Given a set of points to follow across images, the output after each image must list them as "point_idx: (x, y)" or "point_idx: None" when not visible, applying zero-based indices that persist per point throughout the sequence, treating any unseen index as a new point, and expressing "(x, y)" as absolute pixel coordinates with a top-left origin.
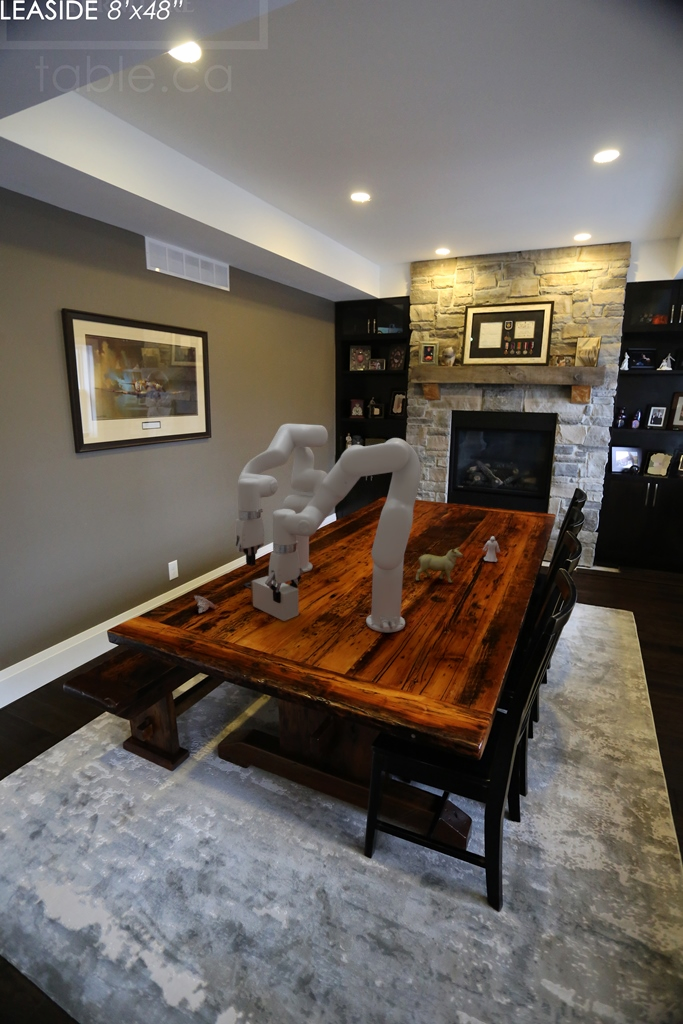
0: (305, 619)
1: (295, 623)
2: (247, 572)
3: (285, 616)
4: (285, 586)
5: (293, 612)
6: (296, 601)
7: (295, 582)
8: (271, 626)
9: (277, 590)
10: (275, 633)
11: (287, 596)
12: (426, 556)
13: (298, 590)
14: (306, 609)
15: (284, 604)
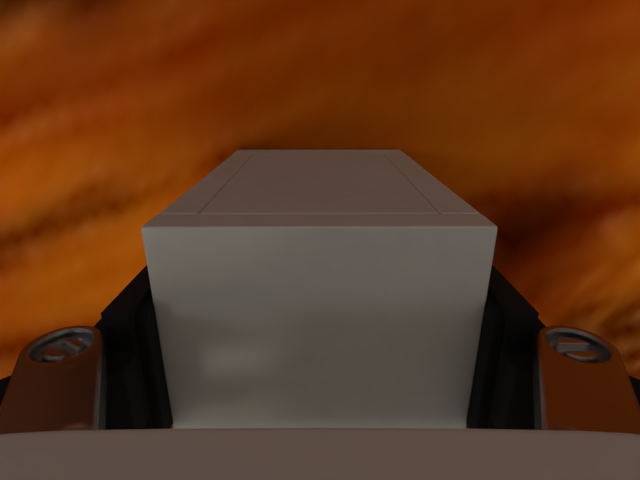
0: (244, 40)
1: (361, 46)
2: None
3: (391, 155)
4: (251, 427)
5: (294, 156)
6: (237, 177)
7: (100, 368)
8: (530, 153)
9: (572, 352)
10: (612, 26)
11: (400, 208)
12: None
13: (153, 218)
14: (118, 185)
15: (432, 183)
